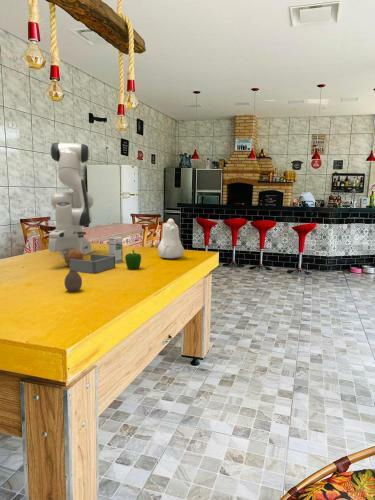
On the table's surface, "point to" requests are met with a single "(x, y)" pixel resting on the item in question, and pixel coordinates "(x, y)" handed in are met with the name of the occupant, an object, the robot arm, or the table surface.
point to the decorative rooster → (170, 241)
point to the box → (93, 264)
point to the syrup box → (115, 248)
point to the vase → (73, 281)
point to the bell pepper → (133, 260)
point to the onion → (73, 255)
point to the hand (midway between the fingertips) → (65, 258)
